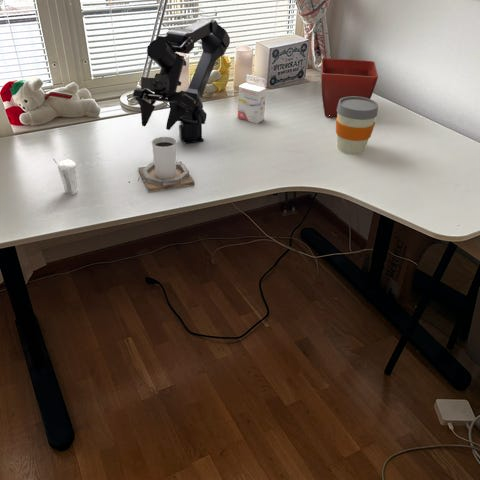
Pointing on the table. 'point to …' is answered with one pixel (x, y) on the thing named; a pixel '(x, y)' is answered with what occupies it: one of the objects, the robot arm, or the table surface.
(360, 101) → the reusable coffee cup
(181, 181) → the ring board
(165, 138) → the white cup
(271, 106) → the table surface
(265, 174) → the table surface
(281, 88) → the table surface
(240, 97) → the ink cartridge box
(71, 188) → the milkshake
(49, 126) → the table surface
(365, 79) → the plant pot
